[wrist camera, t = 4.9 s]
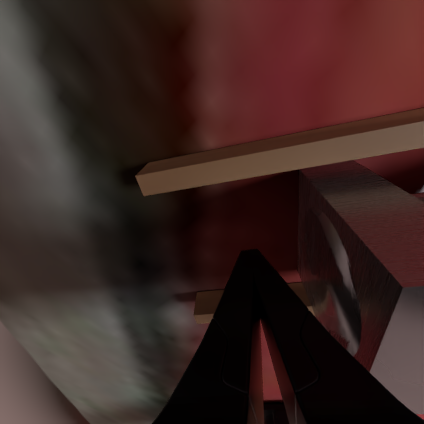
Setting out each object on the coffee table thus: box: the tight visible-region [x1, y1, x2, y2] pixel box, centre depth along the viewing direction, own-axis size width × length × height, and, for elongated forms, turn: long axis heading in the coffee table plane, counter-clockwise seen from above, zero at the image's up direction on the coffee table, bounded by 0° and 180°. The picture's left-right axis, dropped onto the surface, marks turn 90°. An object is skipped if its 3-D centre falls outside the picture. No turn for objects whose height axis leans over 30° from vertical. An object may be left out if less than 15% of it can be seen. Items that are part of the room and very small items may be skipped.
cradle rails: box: [135, 108, 424, 324], centre depth 9 cm, size 9×15×2 cm, turn 102°
